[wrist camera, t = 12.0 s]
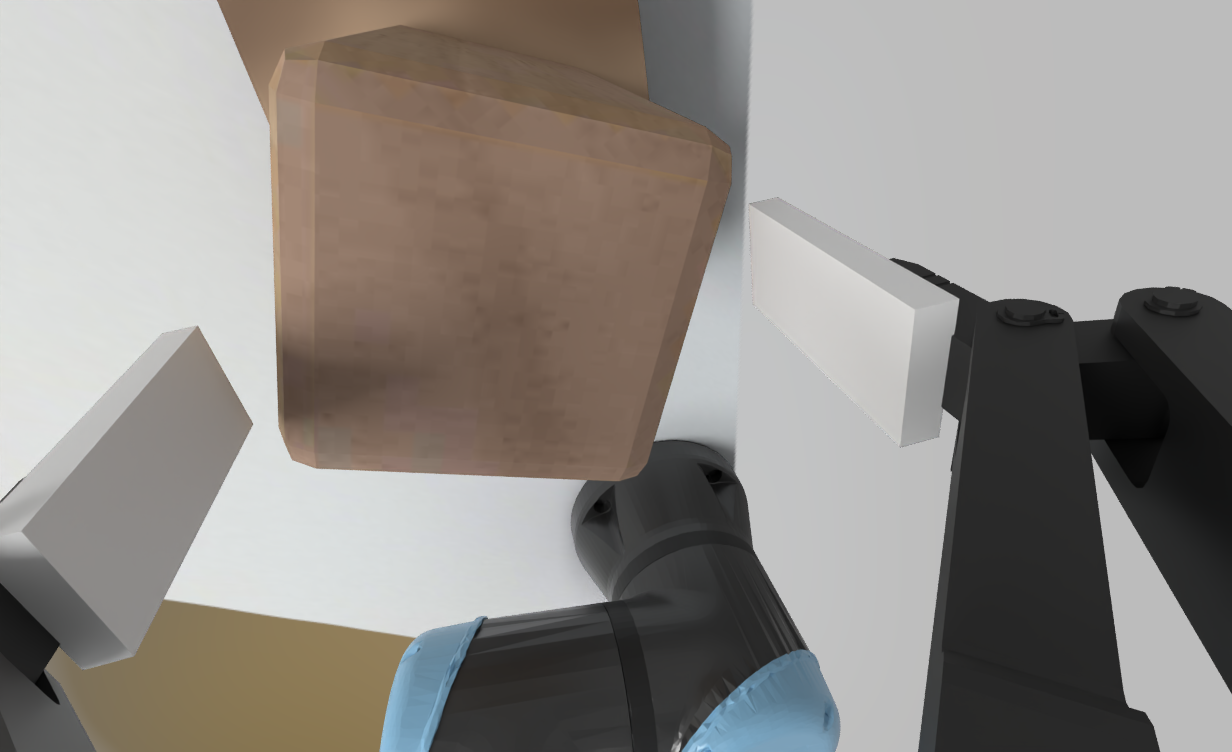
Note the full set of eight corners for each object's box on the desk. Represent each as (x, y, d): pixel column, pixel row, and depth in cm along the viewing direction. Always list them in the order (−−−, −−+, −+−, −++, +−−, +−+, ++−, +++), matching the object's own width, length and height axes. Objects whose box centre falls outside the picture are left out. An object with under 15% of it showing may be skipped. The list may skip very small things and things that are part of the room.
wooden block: (595, 70, 31) (761, 143, 14) (558, 263, 35) (650, 497, 18) (378, 18, 28) (251, 28, 11) (369, 236, 32) (269, 483, 15)
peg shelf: (643, 245, 42) (669, 277, 37) (375, 305, 40) (363, 347, 35) (600, -82, 33) (626, -99, 27) (246, -23, 31) (204, -30, 26)
